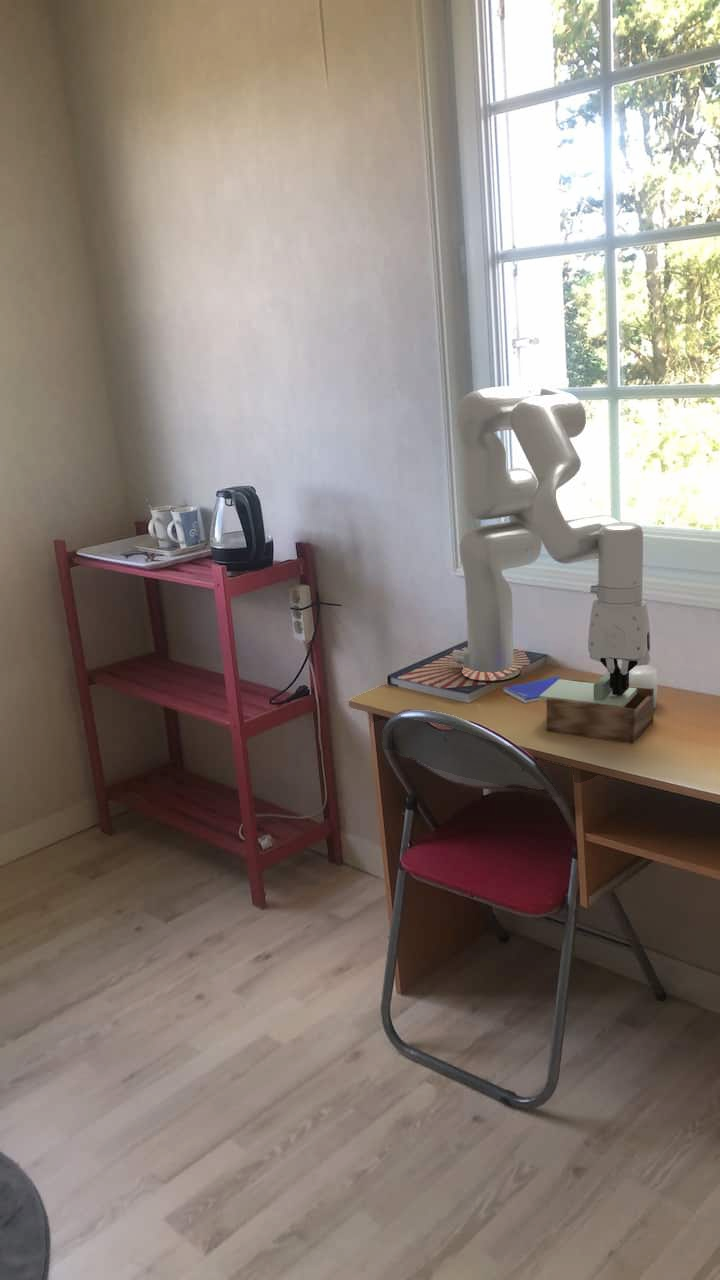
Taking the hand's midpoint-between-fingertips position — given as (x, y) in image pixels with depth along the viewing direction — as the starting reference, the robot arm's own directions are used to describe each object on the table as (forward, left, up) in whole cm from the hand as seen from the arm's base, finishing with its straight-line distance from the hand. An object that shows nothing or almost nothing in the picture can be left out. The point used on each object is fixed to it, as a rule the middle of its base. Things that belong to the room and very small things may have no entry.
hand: (619, 692), depth 196 cm
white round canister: (0, +13, -7) cm, 15 cm away
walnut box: (-3, 0, -7) cm, 8 cm away
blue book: (-20, +14, -8) cm, 26 cm away
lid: (-6, 0, -2) cm, 6 cm away
